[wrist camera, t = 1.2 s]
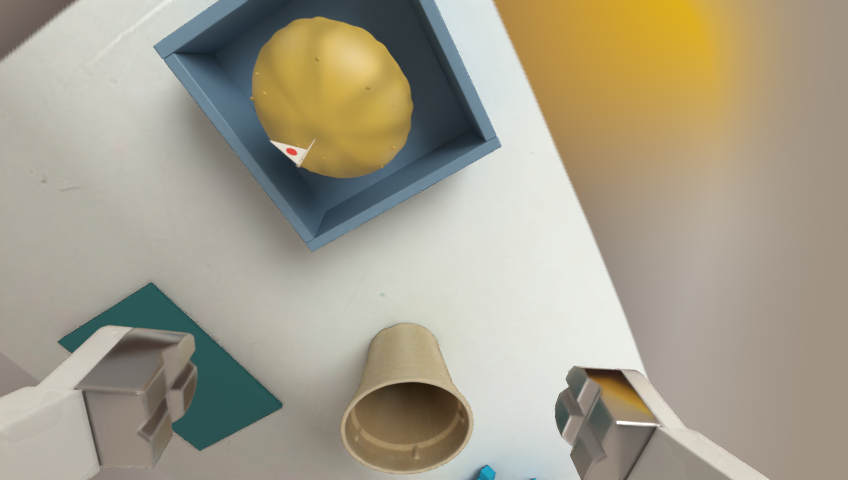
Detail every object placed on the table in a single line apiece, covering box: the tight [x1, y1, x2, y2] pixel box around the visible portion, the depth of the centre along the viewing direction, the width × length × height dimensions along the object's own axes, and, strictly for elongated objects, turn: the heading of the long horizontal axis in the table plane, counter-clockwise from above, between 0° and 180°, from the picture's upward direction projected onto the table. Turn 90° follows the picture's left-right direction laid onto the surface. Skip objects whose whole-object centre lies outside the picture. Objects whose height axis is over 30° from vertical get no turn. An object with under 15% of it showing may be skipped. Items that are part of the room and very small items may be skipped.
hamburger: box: [250, 17, 413, 178], centre depth 20 cm, size 8×7×12 cm
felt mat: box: [58, 283, 283, 450], centre depth 35 cm, size 16×10×1 cm, turn 31°
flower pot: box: [340, 323, 473, 474], centre depth 32 cm, size 9×9×9 cm
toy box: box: [153, 0, 501, 252], centre depth 24 cm, size 13×13×6 cm
